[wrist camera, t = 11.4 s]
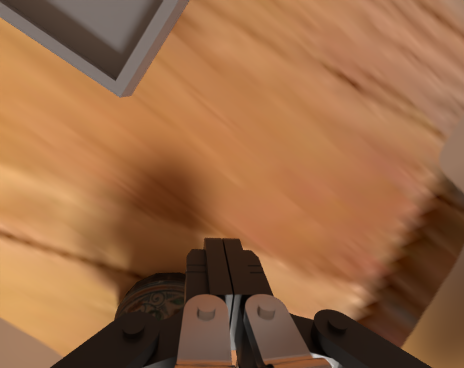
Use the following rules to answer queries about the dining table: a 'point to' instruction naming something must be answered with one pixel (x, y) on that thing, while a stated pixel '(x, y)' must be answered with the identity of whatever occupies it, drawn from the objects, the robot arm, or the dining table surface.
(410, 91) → the dining table surface
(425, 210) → the dining table surface
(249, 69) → the dining table surface
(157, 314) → the beer stein
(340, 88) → the dining table surface
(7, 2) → the tray
